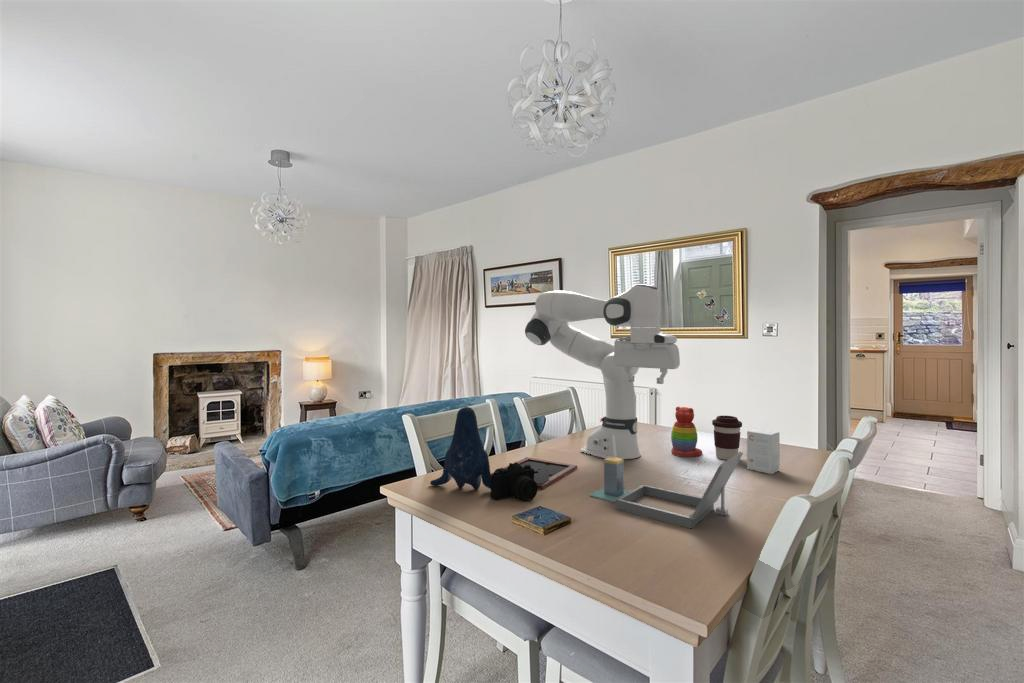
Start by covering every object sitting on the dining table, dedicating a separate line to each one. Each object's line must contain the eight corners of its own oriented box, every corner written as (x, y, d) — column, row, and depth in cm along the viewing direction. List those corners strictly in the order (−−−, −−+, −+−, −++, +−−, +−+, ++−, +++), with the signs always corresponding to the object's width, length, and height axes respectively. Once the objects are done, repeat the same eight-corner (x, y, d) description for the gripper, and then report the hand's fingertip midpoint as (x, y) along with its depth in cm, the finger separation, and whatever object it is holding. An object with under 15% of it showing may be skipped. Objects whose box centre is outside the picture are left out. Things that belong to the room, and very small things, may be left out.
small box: (779, 471, 161) (780, 431, 160) (771, 474, 157) (771, 434, 156) (754, 465, 167) (755, 428, 167) (746, 469, 163) (746, 430, 163)
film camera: (504, 507, 130) (503, 474, 130) (486, 497, 139) (486, 466, 138) (549, 497, 138) (549, 465, 138) (530, 487, 147) (530, 458, 146)
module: (604, 494, 139) (604, 459, 139) (611, 490, 142) (611, 456, 142) (616, 497, 136) (616, 461, 136) (623, 493, 139) (623, 458, 139)
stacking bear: (704, 453, 183) (704, 406, 183) (693, 459, 176) (693, 410, 175) (676, 448, 191) (676, 403, 190) (665, 454, 183) (665, 407, 183)
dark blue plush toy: (420, 492, 143) (419, 408, 142) (437, 480, 154) (436, 402, 153) (501, 500, 136) (500, 412, 135) (512, 487, 146) (512, 405, 146)
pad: (589, 496, 139) (589, 494, 139) (607, 487, 146) (607, 485, 146) (621, 504, 132) (621, 502, 132) (638, 494, 140) (638, 493, 140)
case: (615, 508, 129) (615, 447, 128) (642, 492, 141) (642, 436, 140) (722, 537, 111) (722, 466, 110) (742, 516, 123) (743, 452, 123)
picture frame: (542, 491, 144) (577, 470, 166) (542, 484, 144) (577, 464, 166) (487, 480, 155) (526, 462, 176) (487, 474, 155) (526, 456, 176)
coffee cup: (746, 461, 172) (747, 419, 172) (718, 461, 172) (718, 419, 172) (734, 454, 182) (734, 414, 182) (707, 454, 182) (708, 414, 182)
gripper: (609, 337, 152) (609, 381, 152) (673, 337, 138) (673, 386, 139) (619, 336, 157) (619, 379, 157) (682, 337, 143) (681, 384, 144)
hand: (645, 382), depth 148 cm, fingers open, 8 cm apart
